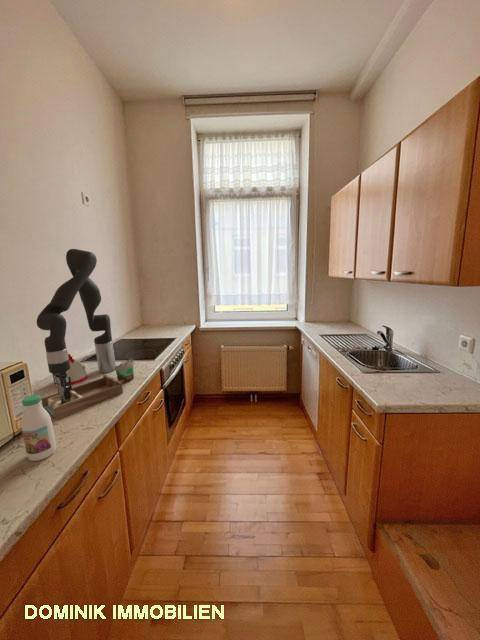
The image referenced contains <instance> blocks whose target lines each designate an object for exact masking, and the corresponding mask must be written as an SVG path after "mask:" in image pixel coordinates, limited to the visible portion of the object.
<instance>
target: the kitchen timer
mask: <svg viewBox="0 0 480 640" xmlns="http://www.w3.org/2000/svg"><path fill="white" fill-rule="evenodd" d="M68 357H69V363H70V369H69V370H67V371H66V374H68V377H70V378H71V386H72V385H76V384H79V383H82V382H84V381H85V380H87V379H88V373H87V371H86V367H85V365H83V364H82V363H81V362H79V361H78V360H76V359H75V358H73V356H71V354H70V353H68Z"/></svg>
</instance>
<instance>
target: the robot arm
mask: <svg viewBox="0 0 480 640" xmlns="http://www.w3.org/2000/svg"><path fill="white" fill-rule="evenodd" d="M97 260H98V259H97V256H96V254H95V253H94V252H90V251H87V250H82V249H79V248H70V249H69V250H67V252H66V254H65V261H66V265H67V267H68V269H69V272H70V273H71V276H72V277H71V278H70V279H68V280H66V281H65V282H64V283H62V284H61V285H60V286H59V287H58V288H57V290H55V293H54V294H53V296H52V299H50V302H49V303H47V305H46V306H45V307H44V308H43V309H42V311H41V312H40V313H39V314H38V316H37V318H36V326H37V328H39V329H40V330H42V331H49V336H47V337H45V338H44V347H45V352H46V356H45V357H46V362H47V366H48V367H47V368H48V372H49V374H52V378H53V384H54V386H55V387H56V388H57V393H58V394H59V389H58V386H59V385H60V387H62V389H63V393H64V398H65V399H66V400H67V399H70V398H71V394H70V390H72V388H73V386H72V385H71V378H70V377H68V374H66V371H67V370H69V369H70V363H69V357H68V354H69V352H68V350H67V345H66V331H67V321H66V318H65V316H63V314H62V313H64V312H68V310H69V309H71V305H72V303H73V302H74V299H75V297H76V295H77V294H78V295H79V297H80V300H81V303H82V305H83V308H84V311H85V315H86V319H87V323H88V327H89V329H90V331H91V332H102V331H104V332H103V333H102V334H101V335H98V336H95V337H94V340H93V342H94V348H95V354H96V361H97V369H98V372H99V373H100V374H101V373H102V374H105V373H106V374H107V373H111V372H114V371H116V370H115V366H117V365H116V358H115V350H114V342H113V337H112V335H113V334H112V328H111V327H112V326H111V325H112V324H111V318H110V315H109V314H106V313H105V314H104V313H103V314H95V312H96V310H97V308H98V307H99V305H100V304H101V301H102V296H101V291H100V289H99V287H98V284H96V283H95V282H94V281H93V280H92V278H90V276H91V275H92V273H94V271H95V270H94V269H95V268H96V266H97V262H98V261H97ZM66 386H67V387H68V388H66Z"/></svg>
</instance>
